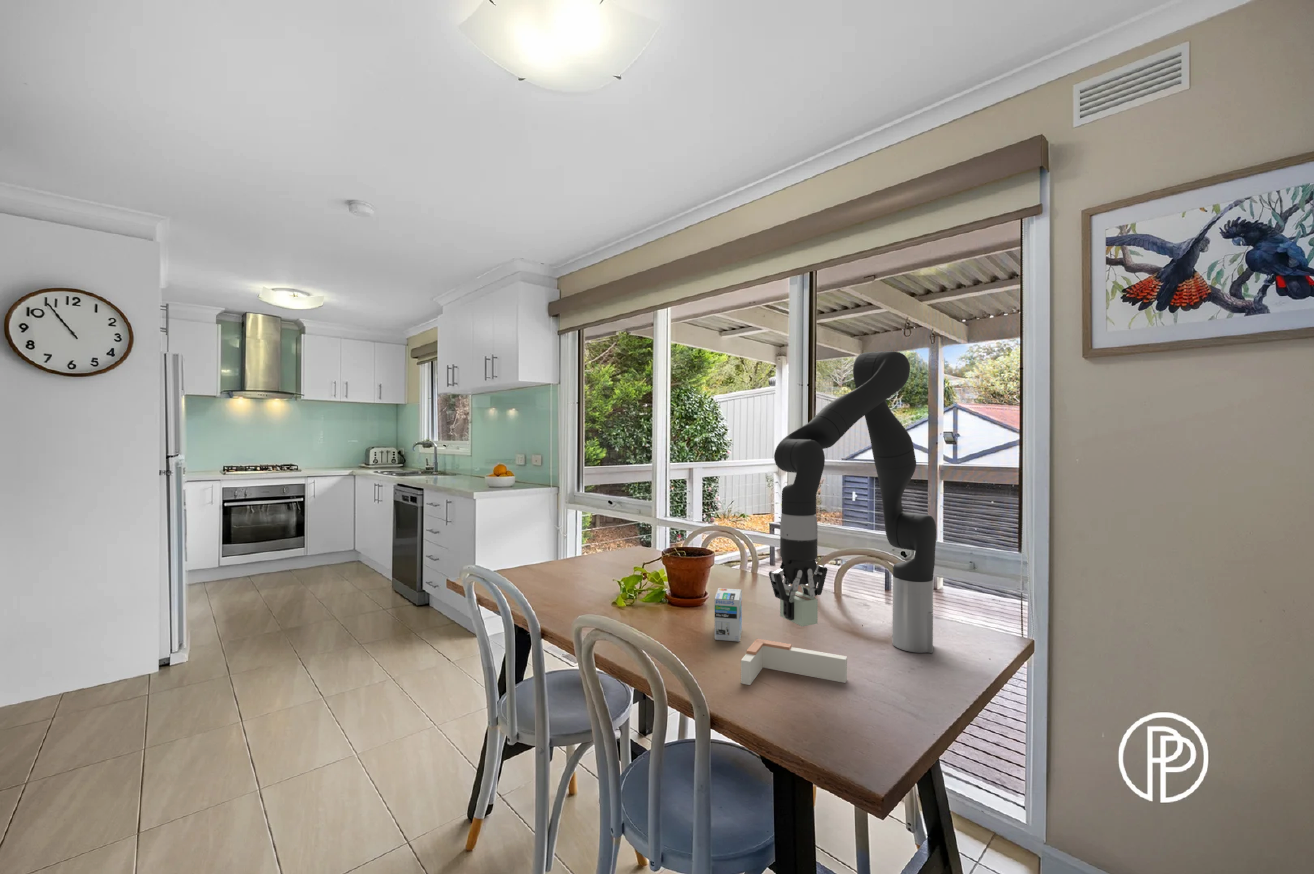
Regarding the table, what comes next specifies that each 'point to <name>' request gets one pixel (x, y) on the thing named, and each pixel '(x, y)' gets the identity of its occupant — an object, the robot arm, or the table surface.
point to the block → (803, 609)
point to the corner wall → (791, 661)
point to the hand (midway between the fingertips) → (798, 617)
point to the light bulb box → (728, 614)
